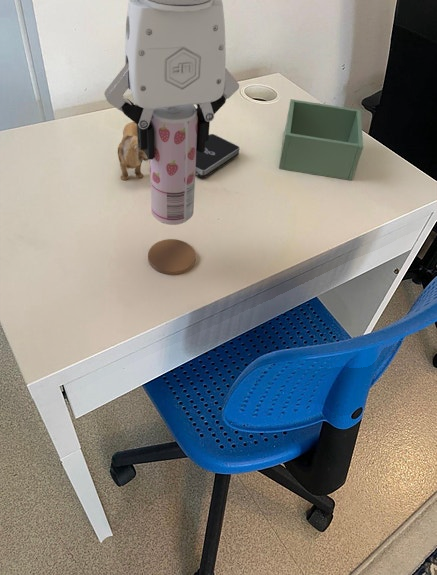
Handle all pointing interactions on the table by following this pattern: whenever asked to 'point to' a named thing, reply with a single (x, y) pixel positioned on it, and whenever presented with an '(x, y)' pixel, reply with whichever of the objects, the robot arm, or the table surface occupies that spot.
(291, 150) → the crate
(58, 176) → the table surface
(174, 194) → the beverage can
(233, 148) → the external hard drive
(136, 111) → the robot arm
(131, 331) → the table surface
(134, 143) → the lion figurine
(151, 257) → the coaster
